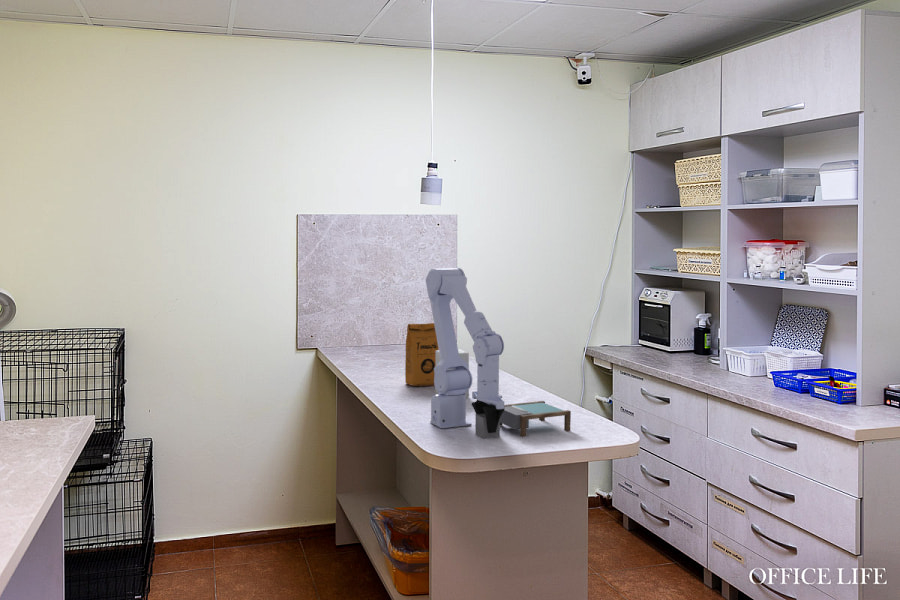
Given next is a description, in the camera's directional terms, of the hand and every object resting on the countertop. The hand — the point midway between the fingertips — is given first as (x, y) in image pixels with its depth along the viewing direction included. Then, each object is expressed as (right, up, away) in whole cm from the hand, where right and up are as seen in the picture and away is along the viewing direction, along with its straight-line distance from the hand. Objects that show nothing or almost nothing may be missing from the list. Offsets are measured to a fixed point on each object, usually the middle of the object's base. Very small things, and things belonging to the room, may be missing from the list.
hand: (487, 430), depth 212 cm
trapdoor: (+12, +1, +8) cm, 15 cm away
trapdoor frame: (+13, -1, +9) cm, 16 cm away
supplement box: (-9, +3, +50) cm, 51 cm away
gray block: (0, -1, 0) cm, 1 cm away
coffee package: (-19, +5, +68) cm, 71 cm away
